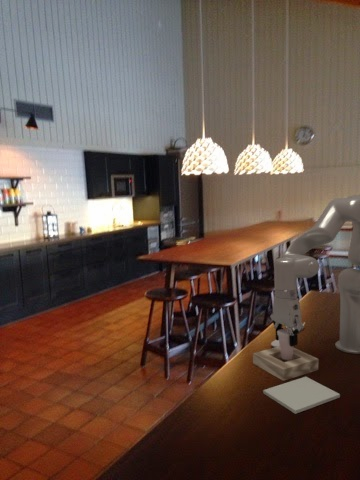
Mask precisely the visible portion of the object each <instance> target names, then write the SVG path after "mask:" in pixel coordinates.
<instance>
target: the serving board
mask: <svg viewBox="0 0 360 480" xmlns="http://www.w3.org/2000/svg"><path fill="white" fill-rule="evenodd" d="M262 392H263V393H262V394H264V395H266V396H267V397H268V398H270V399H272V400H273V401H274V402H276V403H278V404H279V405H281V406H282V407H284V408H286V409H287V410H289V411H291V412H292V413H293V414H295V415H296V414H298V413H299V414H300V413H301V412H303V411H307V410H310V409H313V408H315V407H317V406H321V405H323V404H325V403H326V404H327V403H328V402H331V401H334V400H336V399H339V398H340V397H341V394H340V393H338V392H337V391H335V390H332V389H330V388H329V387H327V386H325V385H323V384H321V383H319V382H317V381H315V380H313V379H311V378H309V377H308V376H303V377H301V378H297V379H294V380H290V381H288V382H285V383H281V384H279V385H276V386H272V387H268V388H267V389H266V388H265V389H263V390H262Z"/></svg>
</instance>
